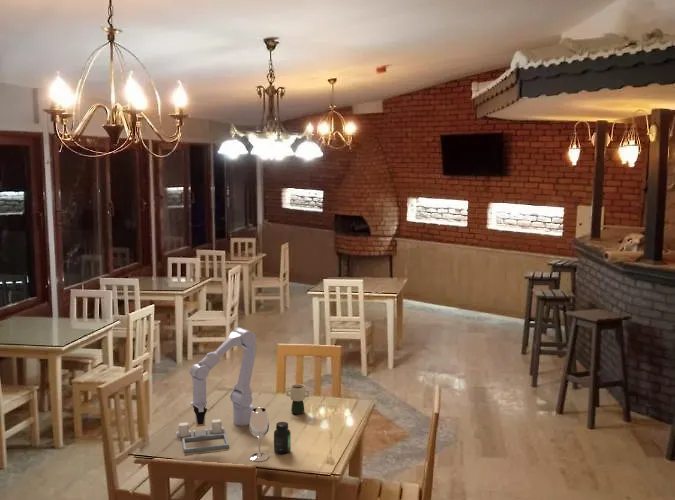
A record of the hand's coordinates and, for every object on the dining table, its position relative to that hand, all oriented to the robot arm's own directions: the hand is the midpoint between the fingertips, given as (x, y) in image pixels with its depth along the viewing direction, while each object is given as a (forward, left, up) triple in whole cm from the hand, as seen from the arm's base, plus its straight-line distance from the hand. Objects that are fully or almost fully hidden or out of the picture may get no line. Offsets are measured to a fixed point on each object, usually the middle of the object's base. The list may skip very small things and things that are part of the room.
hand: (200, 422), depth 291 cm
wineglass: (-21, +28, -6) cm, 36 cm away
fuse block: (0, 0, -6) cm, 6 cm away
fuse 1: (+7, 0, -5) cm, 9 cm away
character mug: (-47, -16, -6) cm, 50 cm away
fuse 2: (-7, 0, -5) cm, 9 cm away
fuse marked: (0, 0, -1) cm, 1 cm away
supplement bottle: (-31, +25, -6) cm, 40 cm away
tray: (-1, +12, -6) cm, 14 cm away
